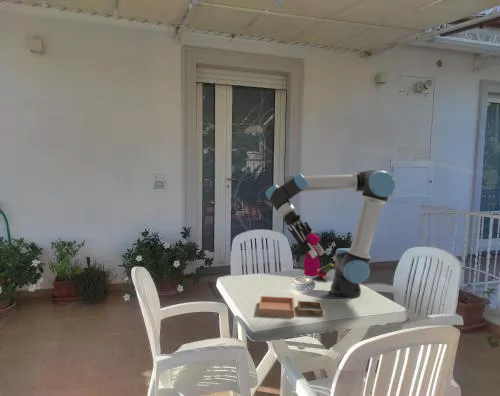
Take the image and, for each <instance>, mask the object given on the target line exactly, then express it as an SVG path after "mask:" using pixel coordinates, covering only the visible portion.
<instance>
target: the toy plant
mask: <svg viewBox="0 0 500 396" xmlns="http://www.w3.org/2000/svg"><path fill="white" fill-rule="evenodd" d="M334 268H335V264H334V263H331V262H330V263H328V264H326V265H325V266H322V267H320V268H318V269H317V270H318V275H317V277H320V279H321V280H323V279H324V277H325V278H328V279H330V276H329V277H328V276H327V274H328V273H329V272H330V271H332V270H333V269H334Z"/></svg>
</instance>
